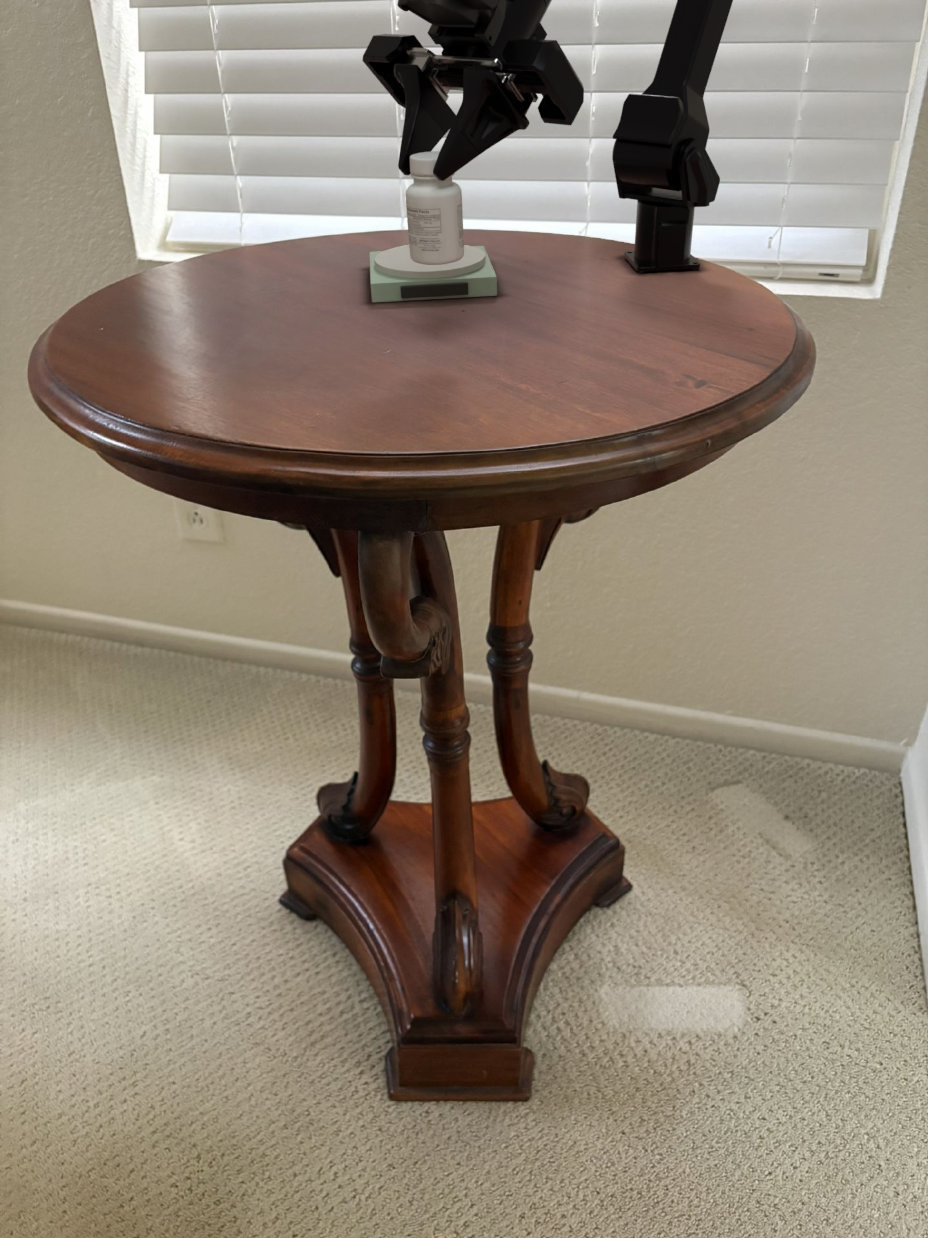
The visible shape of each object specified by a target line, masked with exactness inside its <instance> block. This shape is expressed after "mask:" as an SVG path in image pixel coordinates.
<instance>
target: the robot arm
mask: <svg viewBox="0 0 928 1238" xmlns="http://www.w3.org/2000/svg"><path fill="white" fill-rule="evenodd" d="M552 1H553V0H397V4H396V5H397V7H398V8H399V9H400V10H401V11H403V12H408V11H409V12H410V13H412V14H414V15H415V16H417V17H418V18H421V19H422V20H423V21H425V22H427V23H429V24H431V25H430V27H429V29H428V31H427V35H428V36H429V38H430V39H431V40H432V42H433V43H434V44H435V45H440V47H441V48H442V51H441V54H435V53H434V52H433V51H432V50H430V49H429V48H427V47H424V46H423V44H422V43H421V42H420V41H419V40H418V38H417V37H416V35H415V34H398V33H396V34H395V33H394V34H393V33H382V34H375V35H372V36H371V39H370V41H369V43H368V45H367V47H366V49H365V51H364V53H363V54H362V61H361V62H363V63H364V65H365V66H366V67H367V68H368V70H369V71H370V72H371V73H372V74H373V76H374V77H375V78H376V79H377V80H378V81H379V83H380V84H381V85H382V86H383V88H384V89H385V90H386V91H387V93H389V95H390V97H392V98H393V100H394V101H395V102H396V103H397V105H399V106H401V107H402V108H403V109H404V121H403V128H402V134H401V142H400V147H399V148H400V150H399V156H398V163H397V167H398V170H399V171H400V172H401V173H402V174H403V175H404V176H410V175H411V172H410V156H411V155H413V154H417V153H422V152H432V151H433V150H434V149H435V147H436V146H437V145H438V144H439V143H440V141H441V140H442V139H443V138H444V137H445V139H444V141H443V144H442V145H441V147H440V150H439V151H440V152H439V155H438V158H437V161H436V163H435V166H434V169H433V174H434V175H435V176H436V178H437V179H438V180H440V181H444V180H445V179H447V178H448V177H450V176H451V175H452V174H454V173H457V172H458V171H459V170H461V169H462V168H463V167H465V166H466V165H468V164H469V163H471V162H472V161H473V160H474V159H476V158H477V157H478V156H480V155H482V154H483V153H484V152H486V151H487V150H489V149H490V148H492V147H493V146H495V145H496V144H499V143H500V142H502V141H503V140H505V139H506V138H507V137H509V136H511V135H512V134H514V133H516V132H517V131H519V130H520V131H525V130H526V129H528V128H529V126H530V120H529V119H528V117H527V113H528V112H529V109H530V108H531V106H532V104H533V103H537V102H538V99H539V96H538V95H541V96H542V98H541V100H540V103H539V104H538V106H537V110H538V114H539V116H540V119H541V120H542V122H543V123H544V124H553V125H562V126H572V125H573V123H574V122H575V119H576V117H577V115H578V114H579V111H580V109H581V108H582V106H583V104H584V100H585V99H584V97H585V89H584V85H583V82H582V81H581V79H580V77H579V76H578V74H577V72H576V71H575V69H574V67H573V65H572V63H571V62H570V61H569V59H568V57H567V56H566V54H565V52H564V50H563V48H562V47H561V45H560V44H559V42H558V40H557V39H546V38H547V36H548V33H547V31H546V30H545V28H544V27H543V24H542V23H541V22H542V21H543V18H544V17H545V15H546V13H547V11H548V8H549V7H550V5H551V3H552ZM733 1H734V0H676V4H675V7H674V9H673V10H674V11H673V14H672V17H671V20H670V24H669V26H668V30H667V34H666V37H665V41H664V43H663V47H662V49H661V54H660V57H659V59H658V63H657V67H656V70H655V73H654V77H653V80H652V82H651V83H650V84H649V85H648V86H647V87H646V88H645V90H644V91H643V92H642V93H628V95H627V96H626V98H625V100H624V101H623V103H622V110H621V114H620V119H619V121H618V124H617V127H616V129H615V131H614V133H613V135H612V139H613V140H615V141H614V144H613V147H612V154H611V155H612V156H611V158H612V159H611V160H612V164H613V170H614V177H615V182H616V183H615V184H616V188H617V194H618V198H619V199H623V200H625V199H628V200H634V201H637V203H636V219H635V234H634V247H633V248H634V249H633V250H631V251H630V250H628V251H624V258H625V259H626V260H627V261H628V262H629V264H630V265H631V266H632V267H633V269H635V271H636V272H640V273H641V272H644V273H645V272H660V271H678V270H679V271H680V270H696V269H700V268H701V262H700V261H699V260H698V259H697V258H695V256H694V255H693V254H692V253H691V251H692V241H693V230H694V229H693V228H694V218H695V208H706V207H709V206H710V203H713V202H715V199H716V197H717V193H718V191H719V186H720V182H721V177H720V175H719V174H718V170H717V169H716V167H715V165H714V164H713V161H712V159H711V157H710V155H709V154H708V151H707V144H708V140H709V135H710V124H709V120H708V119H709V118H708V115H707V110H706V106H705V101H704V96H705V93H706V88H707V85H708V82H709V79H710V77H711V73H712V69H713V66H714V62H715V60H716V57H717V54H718V50H719V47H720V43H721V40H722V37H723V34H724V31H725V28H726V24H727V22H728V18H729V14H730V12H731V9H732V5H733ZM450 91H459V92H460V91H462V102H461V104H460V107H459V108H458V111H457V113H455V112H454V110H453V109H452V108H451V107H450V105H449V104H448V102H447V101H448V99H449V95H448V94H449V92H450ZM454 175H455V174H454Z"/></svg>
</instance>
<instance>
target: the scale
mask: <svg viewBox="0 0 928 1238" xmlns="http://www.w3.org/2000/svg"><path fill="white" fill-rule="evenodd" d="M369 281H370V282H369V283H370V294H371V295H370V296H371V303H388V302H389V303H390V302H408V301H410V302H411V301H425V300H444V299H462V298H463V299H464V298H479V297H480V298H481V297H496V296H498V276H497V274H496V271H495V269H494V267H493V264H492V261H491V259H490V257H489V255H488V252H487V250H486V247H485V245H469V244H464V256H463V258H461V259H460V260H458V261H456V262H453V263H448V264H443V265H425V264H420V263H416V262H414V261H413V260H412V259H411V257H410V248H409V244H405V245H399V246H395V247H392V248H388V249H386V250H379V251H377V250H376V251H369Z"/></svg>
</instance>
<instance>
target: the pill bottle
mask: <svg viewBox="0 0 928 1238" xmlns="http://www.w3.org/2000/svg"><path fill="white" fill-rule="evenodd" d="M439 152H440V150H436V151H433V150H432V151H431V152H422V153H417V154H413V155H411V156H410V172H411V174H410V175H409V176H410V177H411V178H412V179H413V183H411V184H410V185H409V186H408V187H407V189H406V191H405V206H406V207H405V208H406V222H407V233H408V245H409V248H410V257H411V259H412V260H413V261H414V262H416V263H420V264H425V265H443V264H448V263H453V262H456V261H458V260H460V259H461V258H463V256H464V245H465V240H464V238H465V237H464V215H463V214H464V213H463V195H462V194H463V193H462V188H461V186H460V185H459V184H458V183H457V182H455V181H453V176H454V175H456V174H455V173H456V172H455V173H454V174H452V175H451V176H450V177H448V178H447V179H445V180H444V181H440V180H438V179H437V178H436V176H435V175H434V174H433V169H434V166H435V163H436V161H437V158H438V155H439Z"/></svg>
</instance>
